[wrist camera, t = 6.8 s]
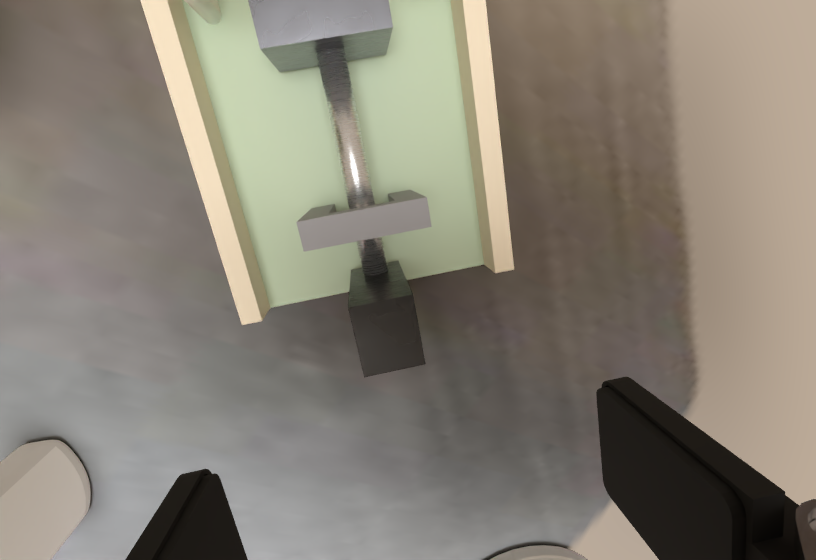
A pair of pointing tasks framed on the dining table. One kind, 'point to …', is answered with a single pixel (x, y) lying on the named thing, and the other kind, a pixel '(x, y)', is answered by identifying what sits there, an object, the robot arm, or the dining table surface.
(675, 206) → the dining table surface
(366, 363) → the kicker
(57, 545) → the eye dropper bottle
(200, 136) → the pitch
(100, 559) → the dining table surface
